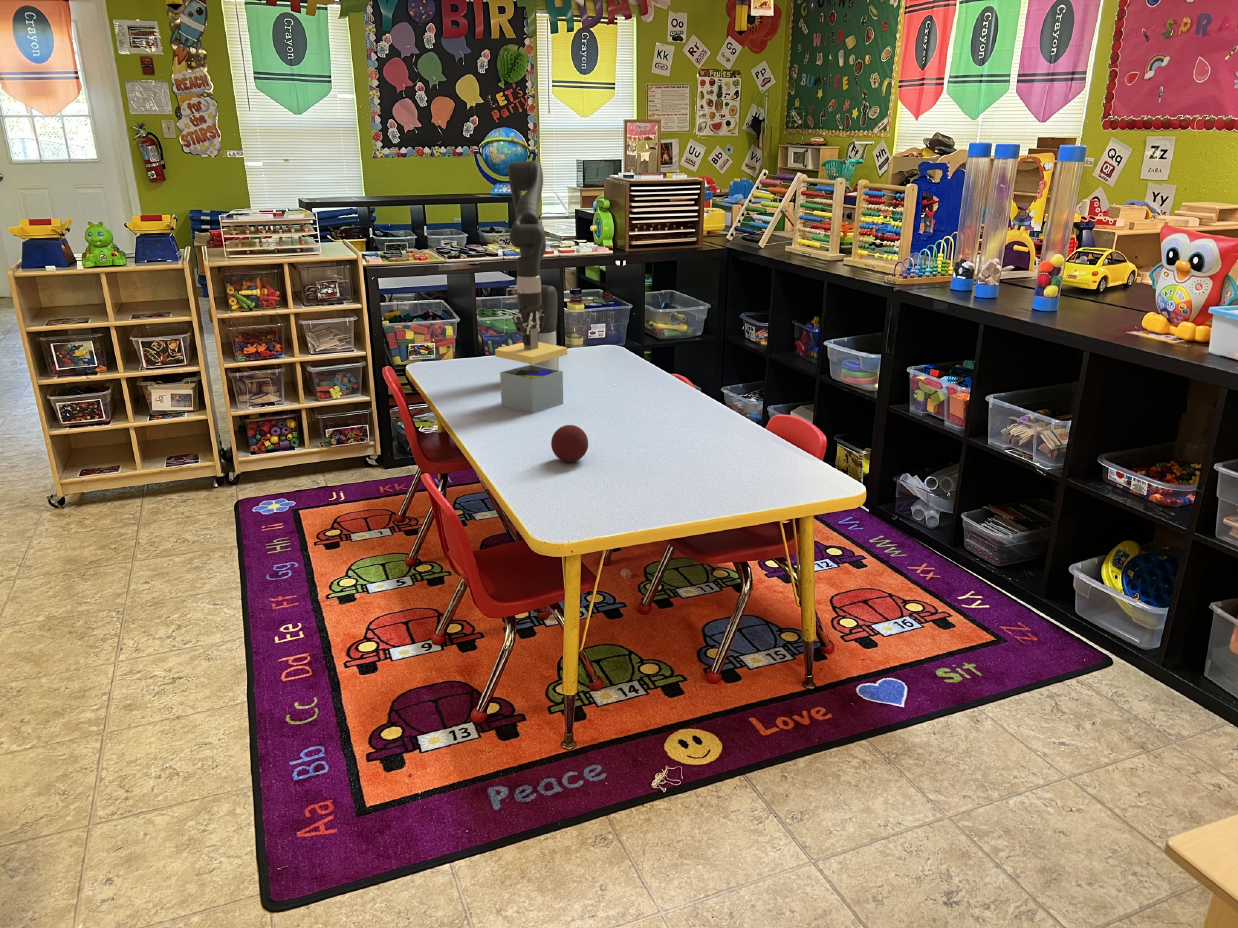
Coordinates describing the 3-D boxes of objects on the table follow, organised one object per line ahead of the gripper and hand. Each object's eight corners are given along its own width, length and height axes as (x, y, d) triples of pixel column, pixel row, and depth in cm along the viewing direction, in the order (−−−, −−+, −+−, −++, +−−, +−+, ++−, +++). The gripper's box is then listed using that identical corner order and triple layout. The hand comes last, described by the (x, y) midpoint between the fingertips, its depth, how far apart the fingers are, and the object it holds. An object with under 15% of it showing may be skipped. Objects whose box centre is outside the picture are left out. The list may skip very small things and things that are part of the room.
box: (532, 396, 302) (531, 364, 299) (563, 403, 294) (562, 371, 290) (501, 405, 292) (500, 372, 288) (532, 413, 284) (531, 379, 280)
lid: (531, 347, 298) (530, 321, 295) (567, 354, 289) (566, 327, 285) (495, 356, 286) (494, 329, 283) (531, 364, 277) (530, 336, 274)
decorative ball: (595, 463, 241) (595, 427, 238) (562, 469, 236) (562, 433, 233) (577, 452, 249) (576, 418, 246) (545, 458, 244) (544, 423, 241)
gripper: (536, 286, 287) (537, 339, 293) (504, 292, 277) (506, 346, 283) (553, 288, 283) (554, 342, 289) (521, 294, 273) (523, 350, 279)
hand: (531, 344), depth 286 cm, fingers closed on lid, 3 cm apart
